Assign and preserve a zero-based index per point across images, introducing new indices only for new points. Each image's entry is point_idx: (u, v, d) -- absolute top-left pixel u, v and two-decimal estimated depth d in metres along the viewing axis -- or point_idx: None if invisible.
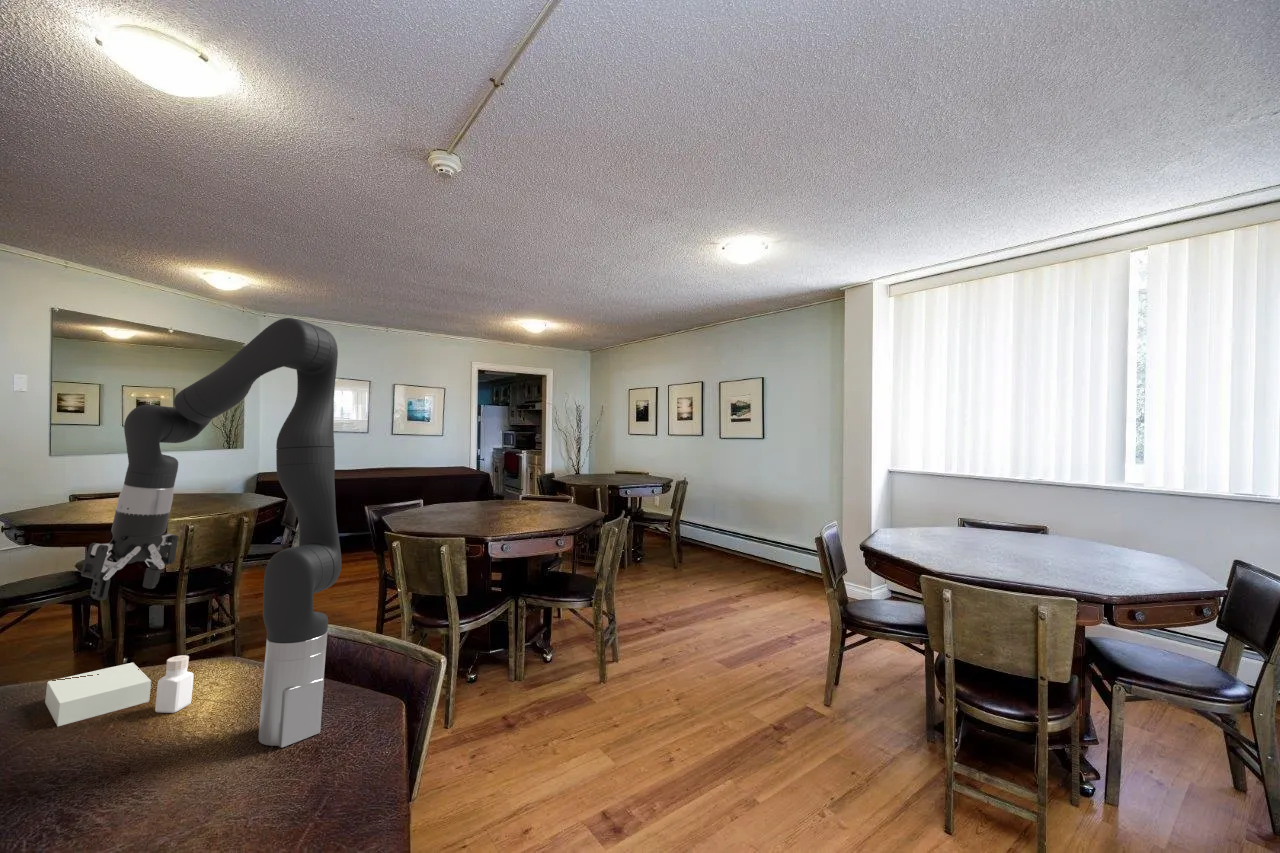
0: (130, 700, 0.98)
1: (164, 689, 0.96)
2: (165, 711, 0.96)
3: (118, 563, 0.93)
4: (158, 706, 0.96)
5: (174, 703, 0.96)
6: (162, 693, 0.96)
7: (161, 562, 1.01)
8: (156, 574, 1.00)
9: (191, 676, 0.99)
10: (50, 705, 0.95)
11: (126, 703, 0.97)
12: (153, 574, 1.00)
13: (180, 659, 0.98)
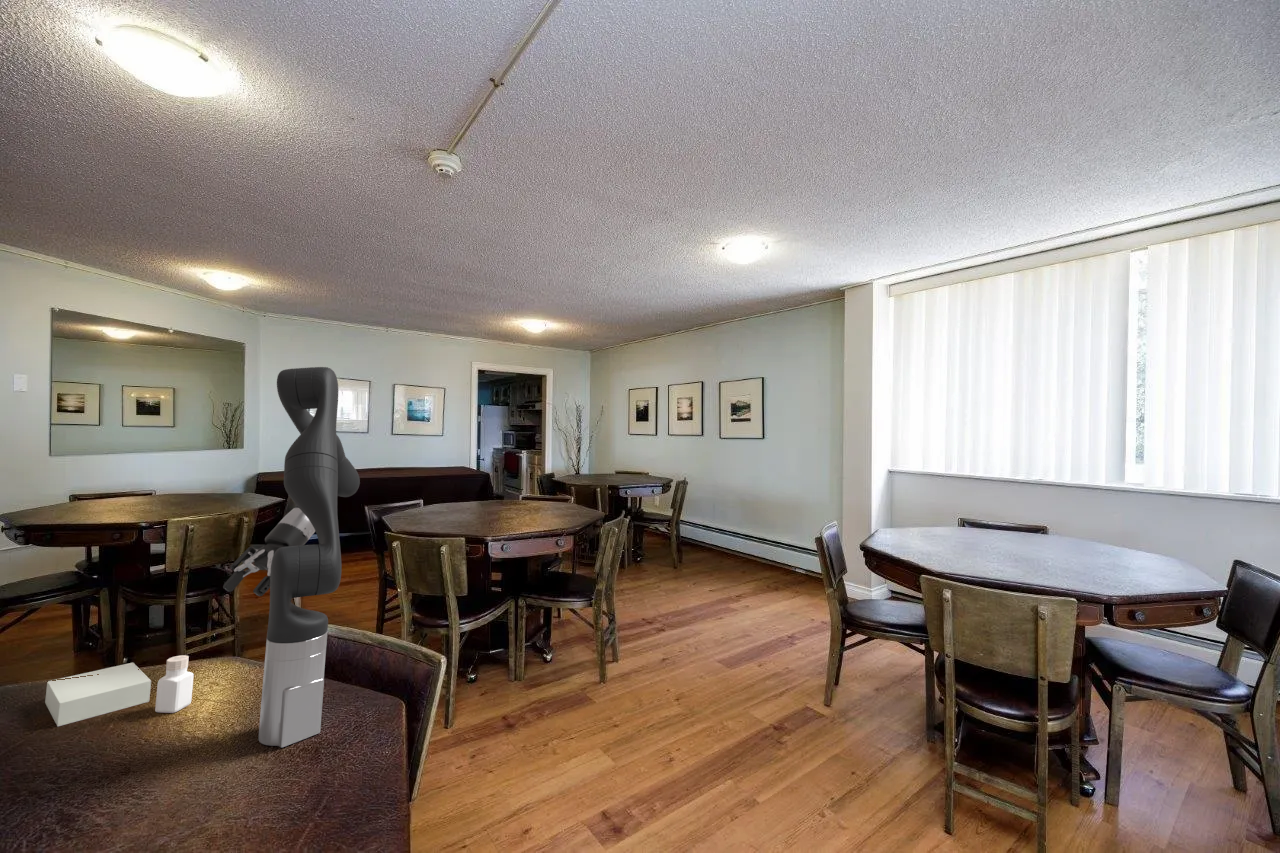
0: (130, 700, 0.98)
1: (164, 689, 0.96)
2: (165, 711, 0.96)
3: (247, 559, 1.15)
4: (158, 706, 0.96)
5: (174, 703, 0.96)
6: (162, 693, 0.96)
7: None
8: (263, 579, 1.10)
9: (191, 676, 0.99)
10: (50, 705, 0.95)
11: (126, 703, 0.97)
12: None
13: (180, 659, 0.98)
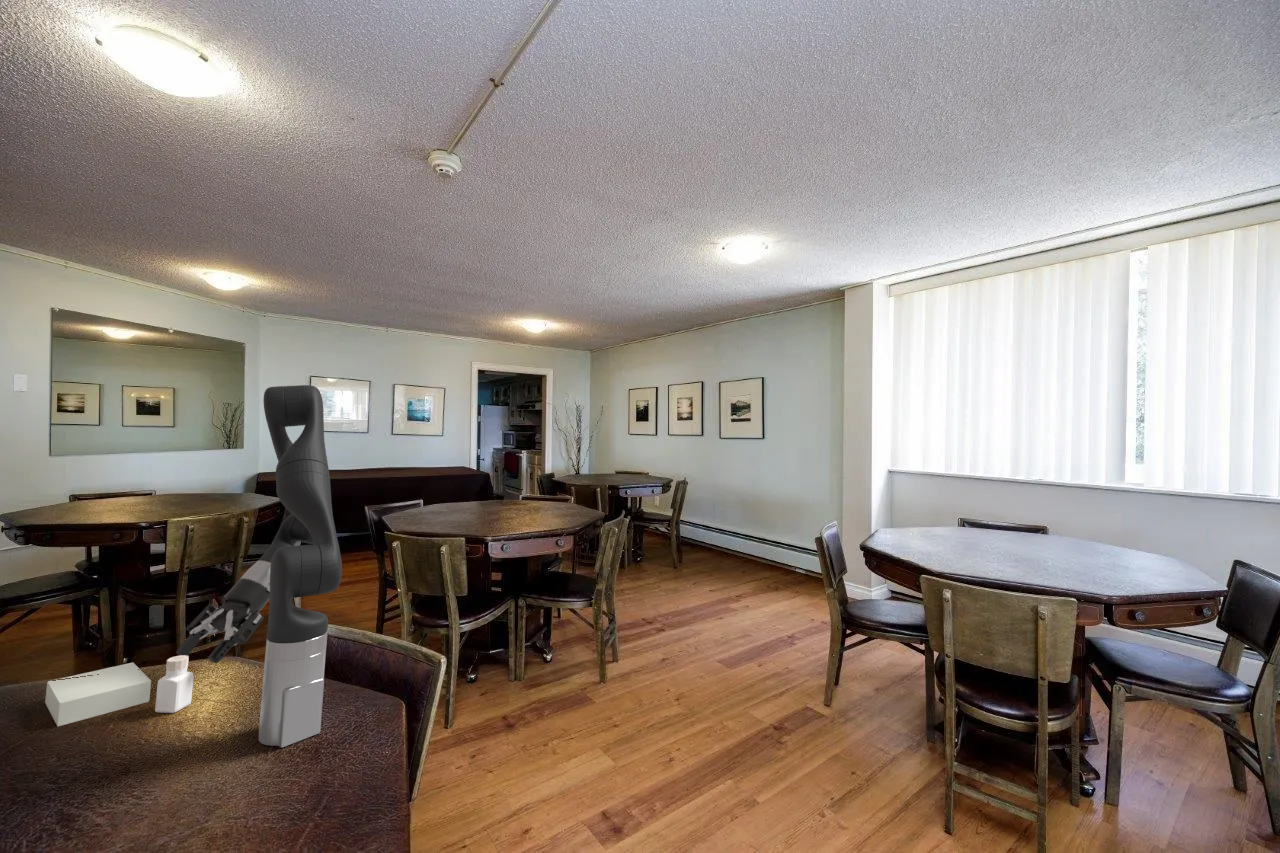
0: (130, 700, 0.98)
1: (164, 689, 0.96)
2: (165, 711, 0.96)
3: (204, 620, 1.06)
4: (158, 706, 0.96)
5: (174, 703, 0.96)
6: (162, 693, 0.96)
7: (229, 633, 1.03)
8: (219, 644, 1.02)
9: (191, 676, 0.99)
10: (50, 705, 0.95)
11: (126, 703, 0.97)
12: None
13: (180, 659, 0.98)
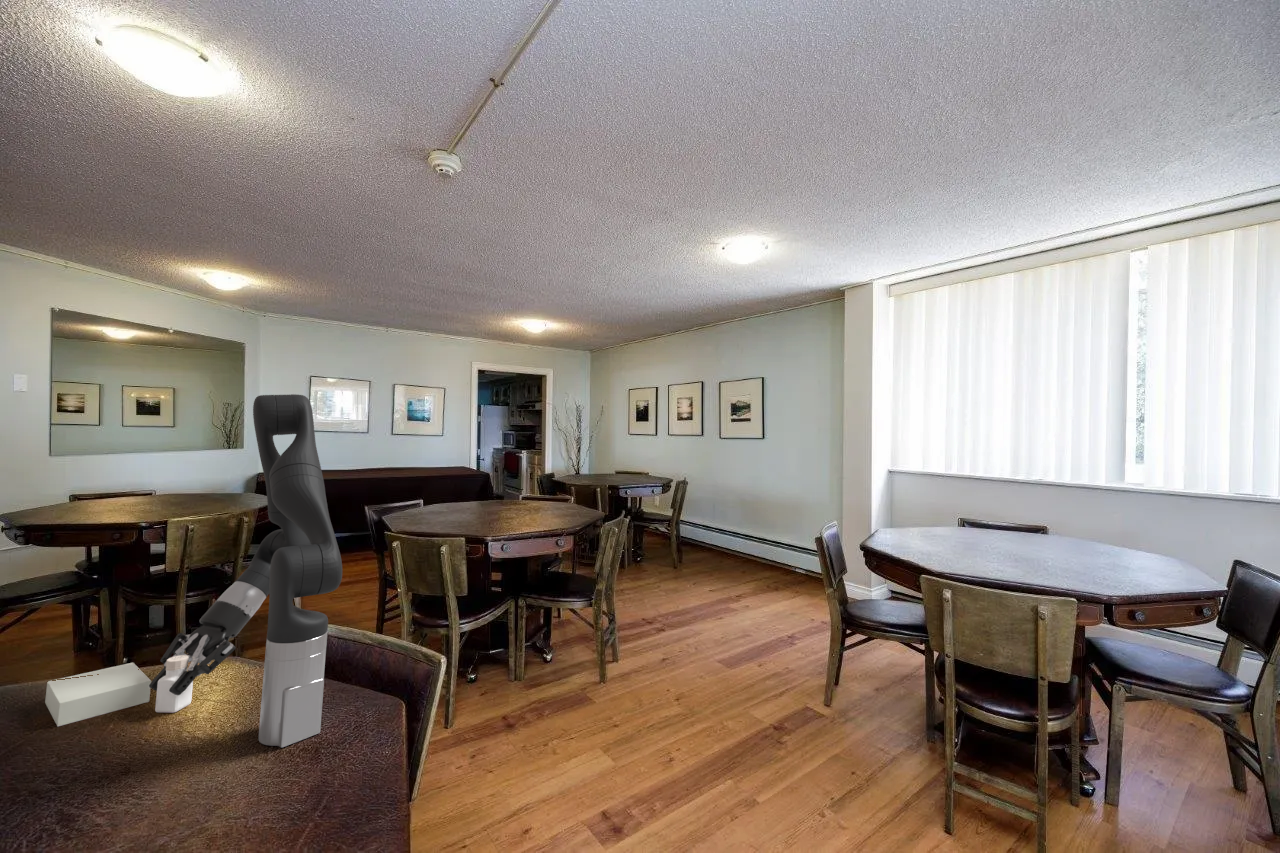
0: (130, 700, 0.98)
1: (164, 689, 0.96)
2: (165, 711, 0.96)
3: (178, 649, 1.01)
4: (158, 706, 0.96)
5: (174, 703, 0.96)
6: (162, 693, 0.96)
7: (193, 663, 0.98)
8: (182, 675, 0.97)
9: None
10: (50, 705, 0.95)
11: (126, 703, 0.97)
12: None
13: (180, 659, 0.98)
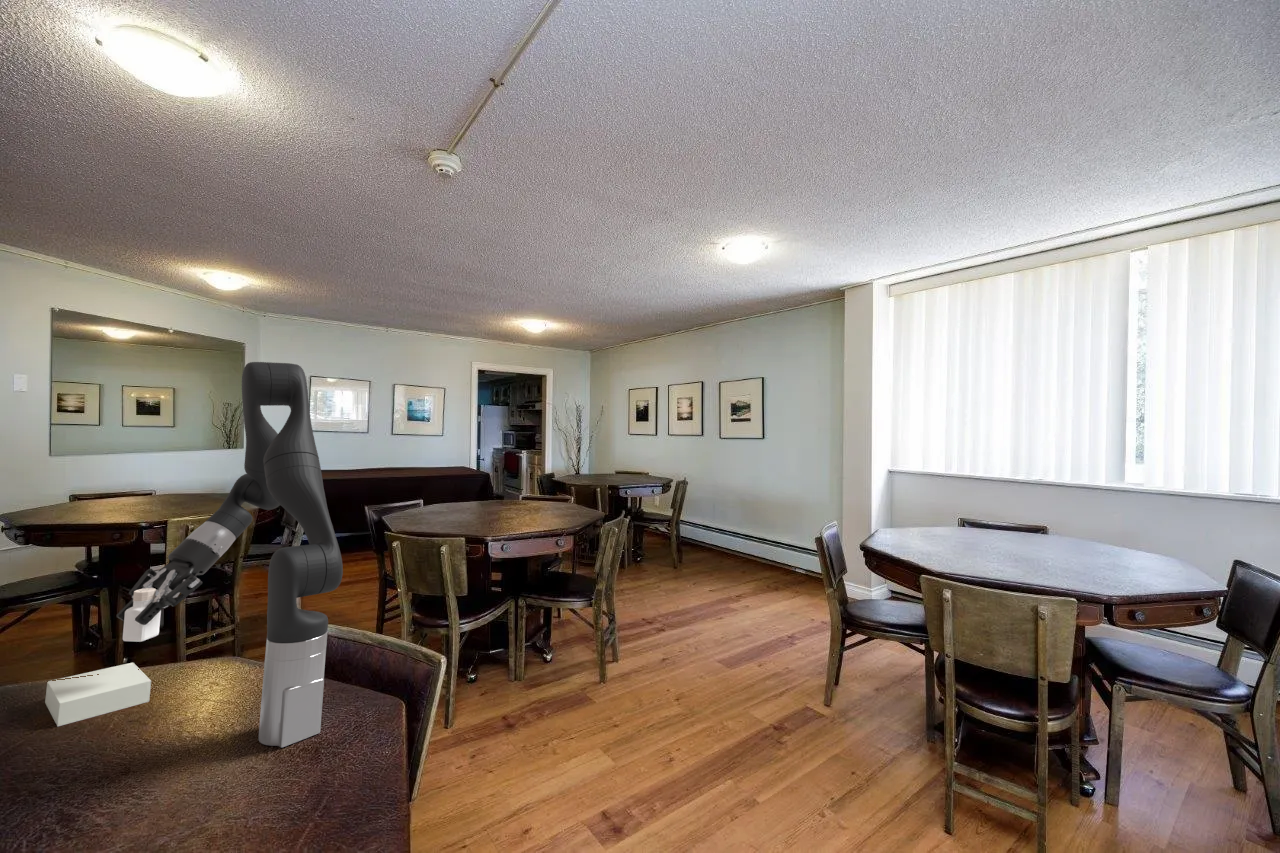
0: (130, 700, 0.98)
1: (131, 619, 0.98)
2: (132, 640, 0.98)
3: (146, 583, 1.03)
4: (125, 635, 0.98)
5: (141, 633, 0.99)
6: (129, 622, 0.98)
7: (159, 595, 1.01)
8: (148, 606, 0.99)
9: None
10: (50, 705, 0.95)
11: (126, 703, 0.97)
12: None
13: (147, 591, 1.00)
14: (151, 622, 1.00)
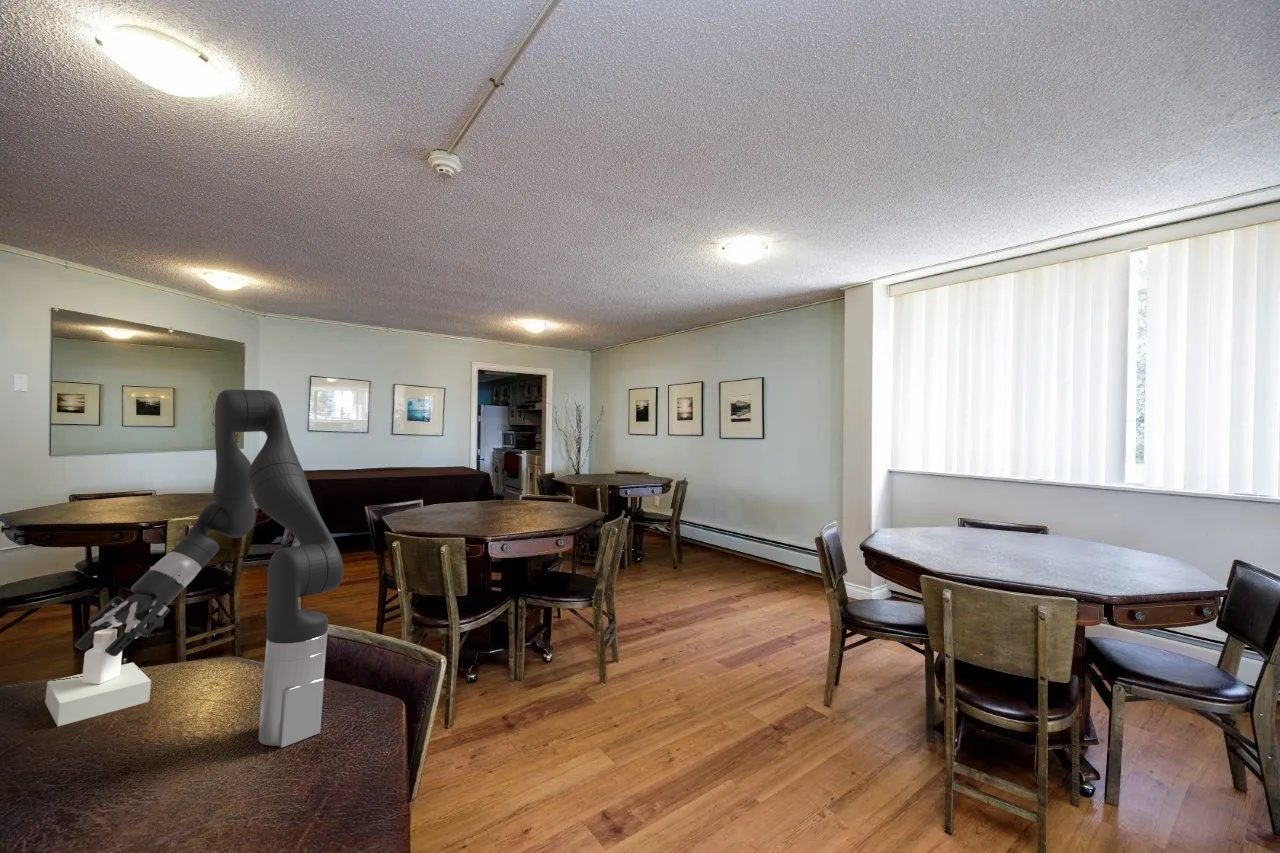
0: (130, 700, 0.98)
1: (90, 661, 0.98)
2: (91, 682, 0.98)
3: (107, 613, 1.03)
4: (84, 677, 0.98)
5: (100, 675, 0.98)
6: (88, 664, 0.98)
7: (131, 625, 1.00)
8: (118, 637, 0.99)
9: None
10: (50, 705, 0.95)
11: (126, 703, 0.97)
12: None
13: (107, 632, 1.00)
14: (111, 663, 1.00)
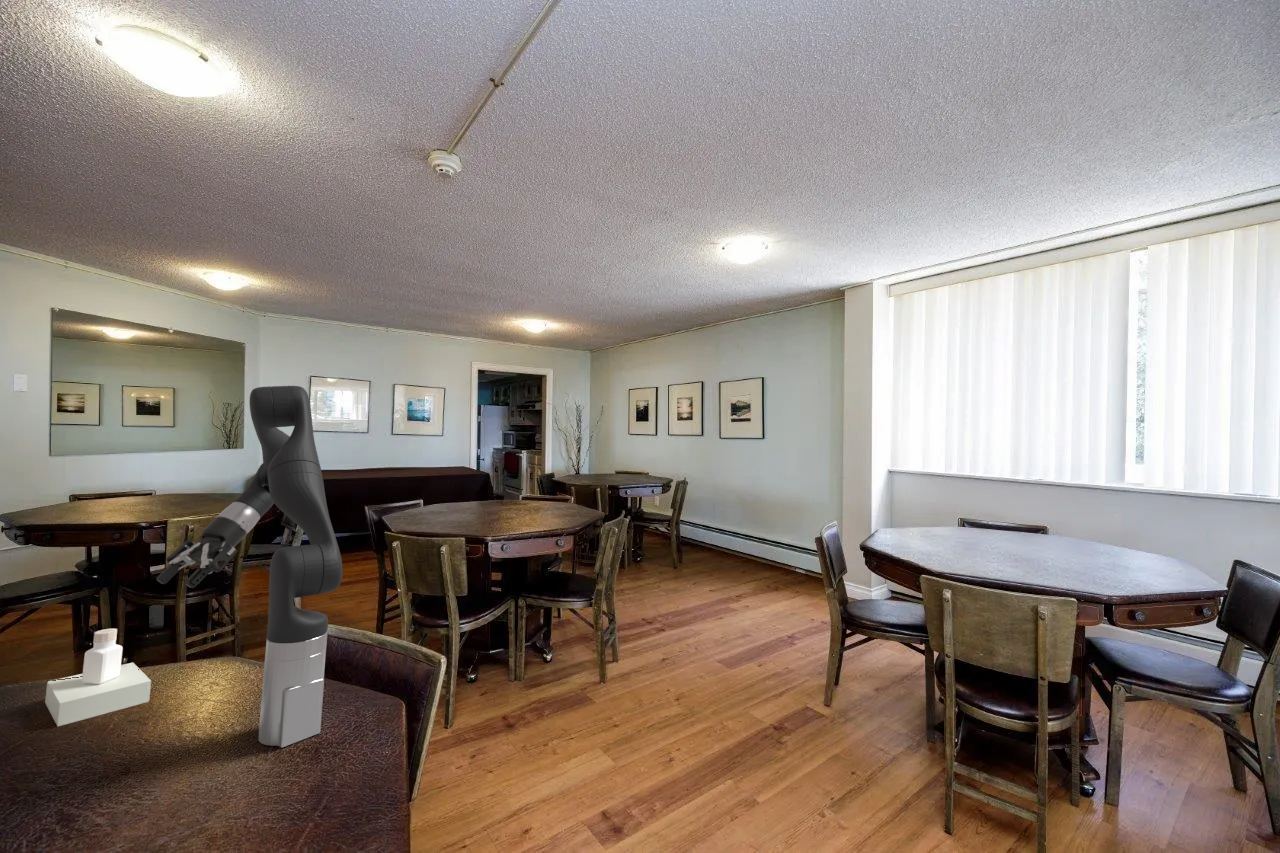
0: (130, 700, 0.98)
1: (90, 660, 0.98)
2: (91, 682, 0.98)
3: (182, 552, 1.16)
4: (84, 677, 0.98)
5: (100, 675, 0.98)
6: (88, 664, 0.98)
7: (205, 562, 1.13)
8: (195, 571, 1.12)
9: (119, 649, 1.01)
10: (50, 705, 0.95)
11: (126, 703, 0.97)
12: None
13: (107, 632, 1.00)
14: (111, 663, 1.00)
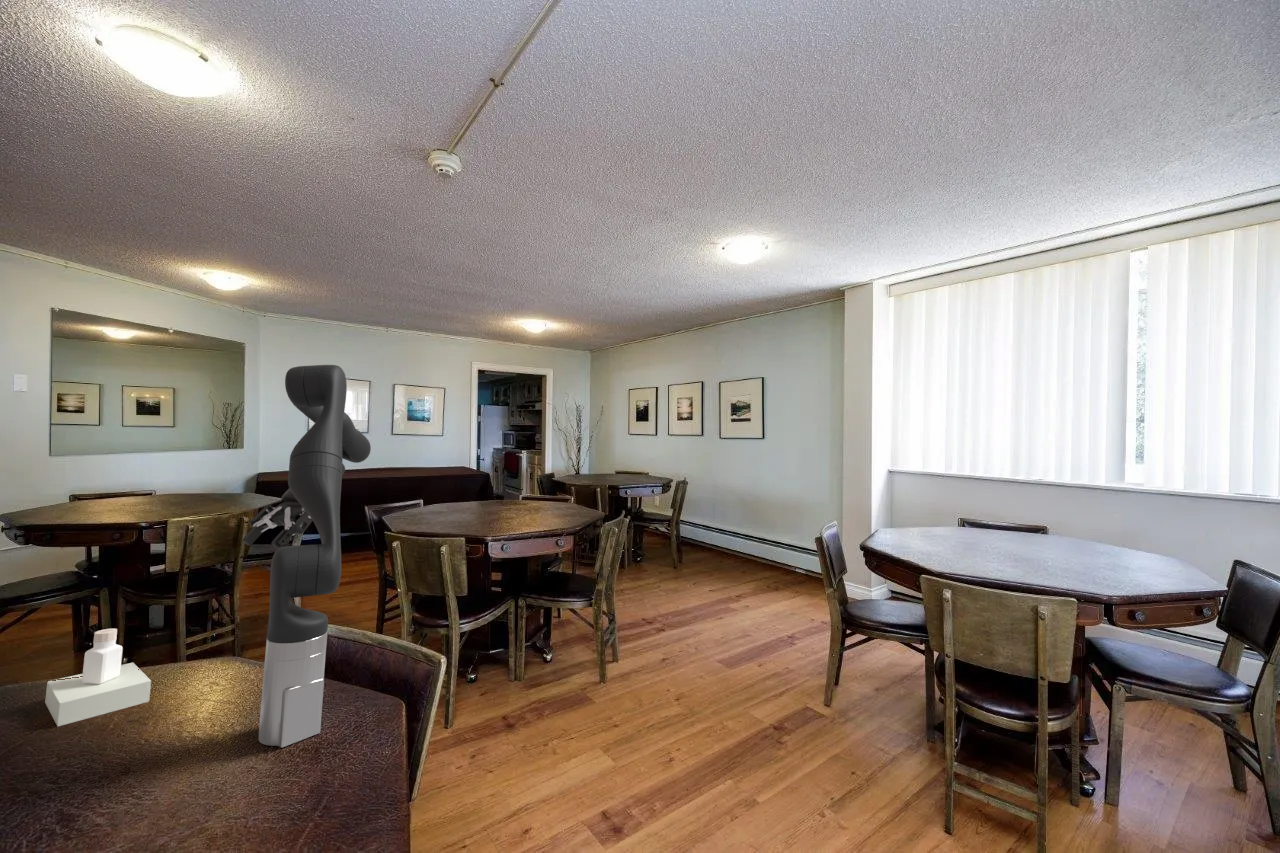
0: (130, 700, 0.98)
1: (90, 660, 0.98)
2: (91, 682, 0.98)
3: (265, 516, 1.21)
4: (84, 677, 0.98)
5: (100, 675, 0.98)
6: (88, 664, 0.98)
7: (289, 524, 1.18)
8: (280, 532, 1.16)
9: (119, 649, 1.01)
10: (50, 705, 0.95)
11: (126, 703, 0.97)
12: None
13: (107, 632, 1.00)
14: (111, 663, 1.00)
